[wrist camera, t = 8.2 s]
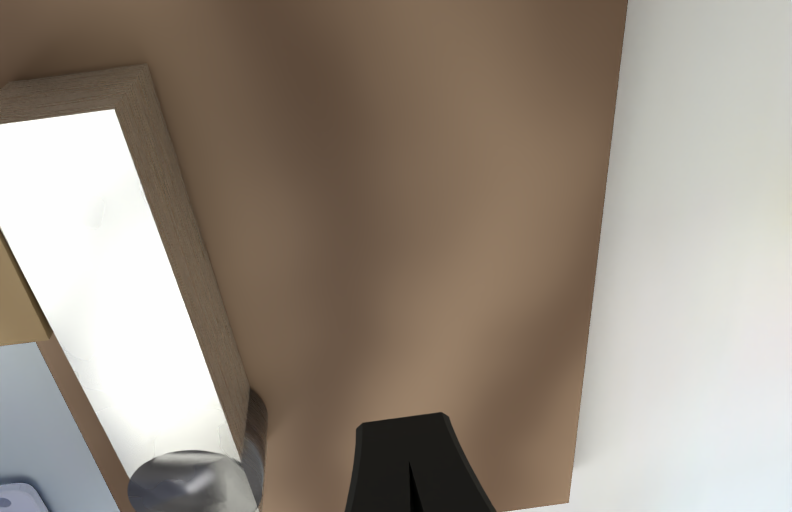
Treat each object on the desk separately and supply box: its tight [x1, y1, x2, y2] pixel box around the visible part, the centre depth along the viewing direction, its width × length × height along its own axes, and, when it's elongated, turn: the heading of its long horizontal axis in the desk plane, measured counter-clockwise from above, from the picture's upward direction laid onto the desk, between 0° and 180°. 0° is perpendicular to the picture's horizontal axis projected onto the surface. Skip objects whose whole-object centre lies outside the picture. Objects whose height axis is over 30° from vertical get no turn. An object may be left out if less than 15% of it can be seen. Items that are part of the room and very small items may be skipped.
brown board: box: [0, 0, 628, 512], centre depth 18 cm, size 16×22×4 cm
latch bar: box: [0, 63, 268, 512], centre depth 17 cm, size 13×4×3 cm, turn 6°
